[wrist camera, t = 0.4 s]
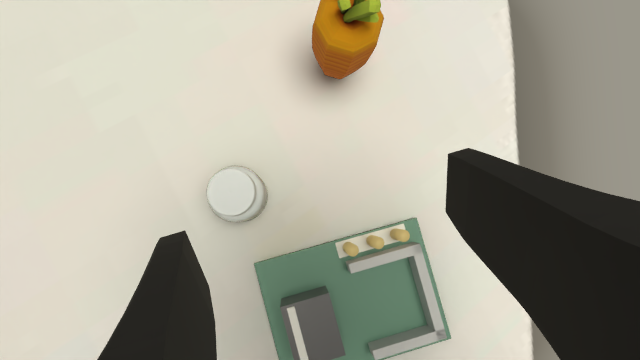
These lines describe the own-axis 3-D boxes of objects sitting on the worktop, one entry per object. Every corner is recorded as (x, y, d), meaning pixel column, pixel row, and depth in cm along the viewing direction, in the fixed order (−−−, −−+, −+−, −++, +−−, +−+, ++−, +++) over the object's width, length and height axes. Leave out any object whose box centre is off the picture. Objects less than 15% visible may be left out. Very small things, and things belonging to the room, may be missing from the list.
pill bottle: (263, 167, 38) (255, 156, 30) (271, 215, 38) (266, 216, 30) (214, 176, 38) (194, 167, 30) (222, 225, 38) (204, 228, 30)
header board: (448, 336, 38) (465, 349, 34) (287, 386, 37) (286, 405, 33) (414, 217, 39) (427, 218, 35) (254, 263, 37) (250, 268, 34)
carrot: (304, 48, 39) (311, -54, 24) (357, 43, 40) (396, -60, 25) (310, 100, 39) (321, 29, 24) (363, 95, 39) (407, 22, 24)
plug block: (340, 341, 37) (346, 356, 33) (296, 355, 36) (296, 371, 33) (325, 285, 37) (329, 293, 33) (281, 298, 37) (279, 308, 33)
